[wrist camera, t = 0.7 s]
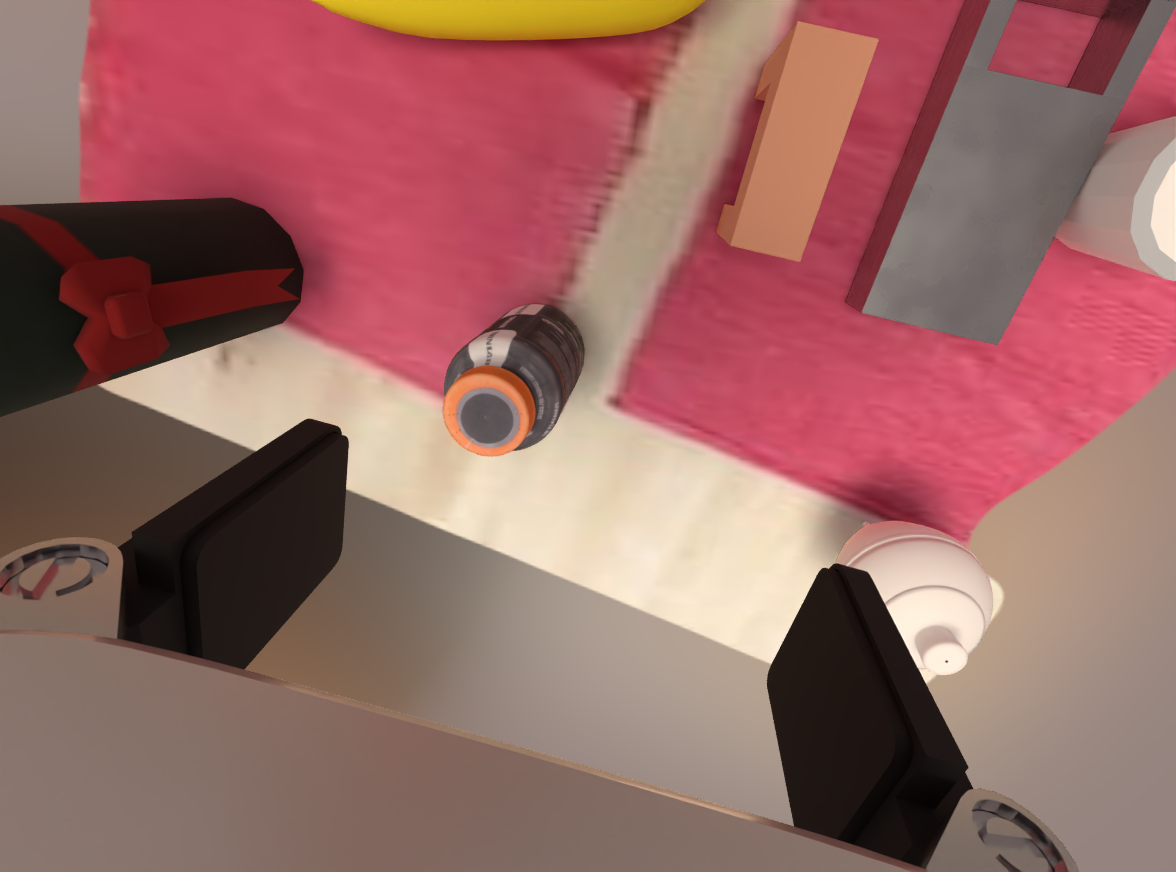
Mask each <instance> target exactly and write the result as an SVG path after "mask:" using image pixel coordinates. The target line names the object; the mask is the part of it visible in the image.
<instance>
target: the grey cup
mask: <svg viewBox="0 0 1176 872" xmlns="http://www.w3.org/2000/svg"><path fill="white" fill-rule="evenodd" d="M1055 238H1057V239H1058V240H1059V241H1060V242H1062V243H1063V244H1064V245H1066V246H1067V247H1068V248H1070V249H1073V250H1076V251H1079V252H1082V253H1085V254H1089V255H1092V256H1095V257H1098V258H1101V259H1104V260H1107V261H1111V262H1114V263H1117V264H1120V265H1123V266H1126V267H1129V268H1132V269H1136V270H1139V271H1142V272H1145V273H1148V274H1151V275H1154V276H1158V277H1161V278H1164V279H1169V280H1174V281H1176V116H1174V117H1170V118H1166V119H1162V120H1159V121H1155V122H1151V123H1147V124H1143V125H1140V126H1136V127H1132V128H1128V129H1124V130H1121V131H1117V132H1113V133H1109V134H1108V136H1107V138H1106V140H1105V142H1104V144H1103V145H1102V147H1101V149H1100V151H1099V153H1098V155H1097V157H1096V159H1095V161H1094V163H1093V164H1092V166H1091V168H1090V170H1089V172H1088V174H1087V176H1086V178H1085V180H1084V182H1083V184H1082V185H1081V187H1080V189H1079V191H1078V193H1077V195H1076V197H1075V199H1074V201H1073V203H1072V204H1071V206H1070V208H1069V210H1068V212H1067V214H1066V216H1065V218H1064V220H1063V222H1062V223H1061V225H1060V227H1059V229H1058V231H1057V233H1056V235H1055Z"/></svg>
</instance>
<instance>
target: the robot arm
mask: <svg viewBox="0 0 1176 872" xmlns="http://www.w3.org/2000/svg"><path fill="white" fill-rule="evenodd" d="M348 448H349V441H348V438H347V437H346V436H344V435H342V432H341V429H340V428H339V427H338V426H335V425H332V424H328V423H324V422H321V421H317V420H313V419H306V420H304V421H302V422H301V423H299V424H298V425H296V426H295V427H293V428H291V429H290V430H288V431H287V432H285V433H284V434H282V435H281V436H279V437H278V438H276V439H275V440H273V441H271V442H270V443H268V444H267V445H265V446H264V447H262V448H261V449H259V450H258V451H256V452H255V453H253V454H251V455H250V456H249V457H247V458H245V459H244V460H242V461H241V462H239V463H238V464H236V465H234V466H233V467H231V468H230V469H228V470H227V471H225V472H224V473H222V474H221V475H219V476H218V477H216V478H215V479H213V480H211V481H210V482H208V483H207V484H205V485H204V486H202V487H201V488H199V489H198V490H196V491H194V492H193V493H192V494H190V495H188V496H187V497H185V498H184V499H182V500H181V501H179V502H178V503H176V504H175V505H173V506H171V507H170V508H168V509H167V510H165V511H164V512H162V513H161V514H159V515H157V516H156V517H154V518H153V519H151V520H150V521H148V522H147V523H145V524H144V525H142V526H141V527H139V528H138V529H136V530H135V531H133V532H132V538H131V539H130V540H129V541H127V542H125V543H124V544H122V545H121V546H120V547H118V548H116V547H115V546H114V545H113V544H111V543H108V542H106V541H103V540H100V539H93V538H84V537H76V538H60V539H55V540H49V541H44V542H39V543H36V544H33V545H30V546H27V547H24V548H21V549H18V550H17V551H14V552H12V553H10V554H8V555H6V556H4V557H3V558H1V559H0V872H1079V870H1078V867H1077V865H1076V863H1075V861H1074V859H1073V858H1072V856H1071V855H1070V854H1069V852H1068V850H1067V849H1066V847H1065V846H1064V845H1063V843H1062V842H1061V841H1060V840H1059V839H1058V838H1057V836H1056V835H1055V834H1054V833H1053V832H1052V831H1051V830H1050V829H1049V828H1048V827H1047V826H1046V825H1045V824H1044V823H1043V822H1042V821H1041V820H1040V819H1038V818H1037V817H1036V816H1035V815H1034V814H1033V813H1031V812H1030V811H1029V810H1027V809H1026V808H1024V807H1023V806H1021V805H1020V804H1018V803H1017V802H1015V801H1014V800H1012V799H1010V798H1008V797H1006V796H1004V795H1002V794H999V793H997V792H995V791H990V790H985V789H981V788H978V789H973V787H972V785H971V783H970V781H969V779H968V778H967V775H966V773H965V771H966V770H967V769H968V765H967V764H966V762H965V759H964V758H963V756H962V754H961V752H960V750H959V748H958V746H957V744H956V742H955V740H954V738H953V736H952V734H951V732H950V730H949V728H948V726H947V724H946V722H945V720H944V718H943V716H942V715H941V713H940V711H939V709H938V707H937V705H936V703H935V701H934V699H933V697H932V695H931V693H930V691H929V689H928V687H927V685H926V683H925V681H924V679H923V677H922V675H921V673H920V671H919V670H918V668H917V666H916V664H915V662H914V660H913V658H912V656H911V654H910V652H909V650H908V648H907V646H906V644H905V642H904V640H903V638H902V636H901V634H900V632H899V630H898V628H897V626H896V625H895V623H894V621H893V619H892V617H891V615H890V613H889V611H888V609H887V607H886V605H885V603H884V601H883V599H882V597H881V595H880V593H879V591H878V589H877V587H876V585H875V583H874V581H873V580H872V578H871V576H870V574H869V573H868V572H866V571H864V570H860V569H856V568H853V567H849V566H845V565H842V564H838V563H836V564H833V565H832V566H831V567H830V568H829V569H828V568H822V569H821V570H820V571H819V573H818V575H817V576H816V578H815V580H814V582H813V584H812V586H811V588H810V590H809V592H808V594H807V596H806V598H805V600H804V602H803V604H802V606H801V608H800V610H799V612H798V614H797V616H796V617H795V619H794V621H793V623H792V625H791V627H790V629H789V631H788V633H787V635H786V637H785V639H784V641H783V643H782V645H781V647H780V649H779V651H778V653H777V655H776V657H775V659H774V660H773V662H772V664H771V667H770V669H769V672H768V678H767V689H768V693H769V699H770V704H771V709H772V714H773V720H774V724H775V730H776V735H777V740H778V745H779V751H780V756H781V761H782V766H783V771H784V777H785V782H786V787H787V792H788V797H789V802H790V808H791V812H792V818H793V823H794V826H790V825H787V824H784V823H780V822H777V821H774V820H771V819H768V818H764V817H761V816H758V815H754V814H751V813H747V812H744V811H741V810H737V809H734V808H730V807H727V806H723V805H720V804H717V803H713V802H710V801H706V800H702V799H699V798H696V797H692V796H689V795H685V794H682V793H679V792H675V791H672V790H669V789H665V788H662V787H658V786H655V785H651V784H648V783H644V782H641V781H637V780H634V779H631V778H627V777H624V776H621V775H617V774H614V773H610V772H607V771H603V770H600V769H596V768H593V767H589V766H586V765H582V764H579V763H575V762H572V761H568V760H565V759H561V758H558V757H554V756H551V755H547V754H543V753H540V752H537V751H533V750H530V749H526V748H523V747H519V746H516V745H512V744H509V743H505V742H502V741H498V740H494V739H491V738H488V737H484V736H481V735H477V734H473V733H470V732H467V731H463V730H460V729H456V728H452V727H449V726H445V725H441V724H438V723H435V722H431V721H428V720H424V719H421V718H417V717H414V716H410V715H406V714H403V713H399V712H395V711H392V710H388V709H385V708H381V707H378V706H374V705H371V704H367V703H363V702H360V701H356V700H352V699H349V698H345V697H342V696H338V695H335V694H331V693H327V692H324V691H320V690H316V689H313V688H309V687H306V686H302V685H299V684H295V683H292V682H288V681H284V680H281V679H277V678H274V677H270V676H266V675H262V674H259V673H255V672H251V671H247V670H244V669H245V668H246V667H247V666H248V665H249V663H250V662H251V661H252V660H253V659H254V658H255V657H256V655H257V654H258V653H259V652H260V651H261V650H262V649H263V648H264V646H265V645H266V644H267V643H268V642H269V640H271V638H272V637H273V636H274V635H275V634H276V633H277V632H278V630H279V629H280V628H281V627H282V625H284V623H285V622H286V621H287V620H288V619H289V618H290V617H291V616H292V614H293V613H294V612H295V611H296V610H297V609H298V608H299V606H300V605H301V604H302V603H303V602H304V601H305V600H306V598H307V597H308V596H309V595H310V594H311V593H312V592H313V590H314V589H315V588H316V587H317V586H318V585H319V583H320V582H321V581H322V580H323V579H324V578H325V577H326V575H327V574H328V573H329V572H330V571H331V570H332V569H333V567H334V566H335V565H336V563H337V562H338V560H339V557H340V555H341V551H342V543H343V528H344V511H345V495H346V480H347V464H348Z"/></svg>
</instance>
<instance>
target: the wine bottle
mask: <svg viewBox="0 0 1176 872" xmlns="http://www.w3.org/2000/svg"><path fill="white" fill-rule="evenodd" d="M302 280H303V268H302V266H301V263H300V260H299V258H298V255H297V252H296V250H295V247H294V245H293V242H292V239H291V237H290V235H289V234H288V233H287V232H286V231H285V230H284V229H283V228H282V227H281V226H280V225H279V224H278V223H277V222H276V221H275V220H274V219H273V218H272V217H271V216H270V215H269V214H268V213H267V212H266V211H265V210H264V209H261V208H259V207H256V206H253V205H250V204H247V203H244V202H242V201H239V200H236V199H233V198H214V199H183V200H152V201H121V202H90V203H59V204H30V205H29V204H28V205H0V417H2V416H5V415H7V414H11V413H14V412H17V411H20V410H23V409H25V408H29V407H31V406H35V405H38V404H41V403H44V402H47V401H50V400H53V399H55V398H58V397H62V396H65V395H68V394H71V393H73V392H76V391H80V390H83V389H86V388H89V387H92V386H95V385H98V384H101V383H104V382H107V381H110V380H113V379H116V378H119V377H122V376H125V375H128V374H131V373H134V372H137V371H140V370H143V369H146V368H149V367H152V366H155V365H158V364H161V363H164V362H167V361H170V360H173V359H176V358H179V357H182V356H185V355H188V354H191V353H194V352H197V351H200V350H203V349H206V348H209V347H212V346H215V345H218V344H221V343H224V342H227V341H230V340H233V339H236V338H239V337H242V336H245V335H248V334H251V333H254V332H257V331H260V330H263V329H266V328H269V327H272V326H275V325H278V324H281V323H283V322H284V321H285V319H286V318H287V317H288V316H289V315H290V314H291V312H292V311H293V310H294V309H295V308H296V306H297V305H298V304H299V303H300V299H301V289H302Z"/></svg>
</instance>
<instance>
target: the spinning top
mask: <svg viewBox="0 0 1176 872" xmlns="http://www.w3.org/2000/svg"><path fill="white" fill-rule="evenodd" d="M863 526H864V527H862V528H861V529H859V530H858V531H857V532H856V533H855V534H854V535H853V536H852V537H851V538H850V539H849V540H848V541H847V542H846V543H845V544H844V546H843V548H842V549H841V551H840V553H839V555H838V558H837V560H836V562H835V564H836V563H838V564H842V565H845V566H849V567H853V568H856V569H860V570H864V571H866V572H868V573H869V574H870V576H871V578H872V580H873V581H874V583H875V585H876V587H877V589H878V591H879V593H880V595H881V597H882V599H883V601H884V603H885V605H886V607H887V609H888V611H889V613H890V615H891V617H892V619H893V621H894V623H895V625H896V626H897V628H898V630H899V632H900V634H901V636H902V638H903V640H904V642H905V644H906V646H907V648H908V650H909V652H910V654H911V656H912V658H913V660H914V662H915V664H916V666H917V668H918V669H927V670H929V671H930V672H932V673H934V674H938V675H949V674H953V673H955V672H958V671H959V670H961V669H962V668H963V667H964V666H965V665H966V663H967V660H968V654H969V653H971V652H972V651H973V650H974V649H975V648H976V646H977V645H978V644H979V642H980V641H981V639H982V637H983V634H984V632H985V631H986V629H987V627H988V624H989V622H990V619H991V615H992V609H993V594H992V588H991V584H990V581H989V578H988V576H987V574H986V572H985V570H984V568H983V566H982V565H981V563H980V561H979V560H978V559H977V558H976V556H975V555H974V554H973V553H972V552H971V551H970V550H968V549H967V548H966V547H965V546H964V545H963V544H961V543H960V542H959V541H958V540H956V539H954V538H953V537H951V536H949V535H948V534H946V533H943V532H941V531H939V530H936V529H933V528H930V527H927V526H923V525H919V524H915V523H910V522H904V521H883V522H876V523H872V524H869V522H867V521H865V522H863Z"/></svg>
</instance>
